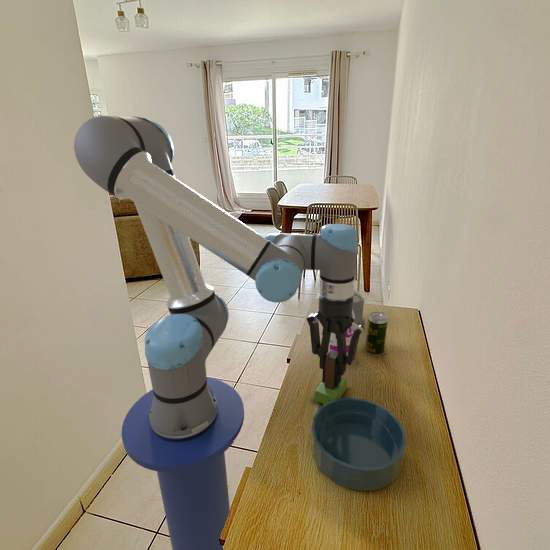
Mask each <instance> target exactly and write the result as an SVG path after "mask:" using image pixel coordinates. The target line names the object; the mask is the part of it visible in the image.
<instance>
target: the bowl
mask: <svg viewBox="0 0 550 550" xmlns="http://www.w3.org/2000/svg"><path fill="white" fill-rule="evenodd" d="M406 449H407V436H406V431H405V429H404V427H403V426H402V424H401V422H400V420H399V419H398V418H397V417H396V416H395V415H394V414H393V413H392V412H391V411H390V410H389V409H387V408H385V407H384V406H382V405H381V404H379V403H376V402H374V401H371V400H368V399H366V398H359V397H341V398H339V399H336V400H333V401H330V402H327V403H326V404H323V405H322V406H320V407H319V408H318V409H317V411H316V412H315V413H314V415H313V417H312V422H311V428H310V450H311V454H312V457H313V460H314V462H315V464H316V465H317V467H318V468H319V470H320V471H321V473H323V474H324V475H325V476H326V477H327V478H329V479H330V480H331V481H333V482H335V483H337V485H338V484H339V485H340V486H343V487H344V488H347V489H352V490H356V491H357V490H358V491H362V492H365V491H367V492H368V491H377V490H380V489H383V488H385V487H386V486H389V485H391V484H392V483H394V481H395V480H396V479H397V478H398V477H399V476H400V475H401V472H402V468H403V466H404V465H403V464H404V460H405V454H406Z"/></svg>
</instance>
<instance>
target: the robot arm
mask: <svg viewBox="0 0 550 550" xmlns="http://www.w3.org/2000/svg"><path fill="white" fill-rule="evenodd" d="M73 149H74V156H75V158H76V161H77V163H78V165H79V167H80V168H81V170H82V171H83V172H84V173H85V175H86V176H87V177H88V178H89V179H90V180H91V181H93V183H95V184H96V185H97V186H99V187H100V188H101V189H102V190H104V191H105V192H106V193H108V194H110V195H112V196H113V197H115V198H116V199H118V200H121V201H123V200H130V201H132V203H134V206H135V209H136V212H137V214H138V216H139V220H140V221H141V224H142V227H143V229H144V232H145V235H146V237H147V239H148V240H147V241H148V242H149V245H150V247H151V250H152V252H153V255H154V257H155V260H156V263H157V265H158V267H159V271H160V274H161V276H162V278H163V280H164V283H165V286H166V288H167V291H168V293H169V298H168V299H167V302H166V307H167V309H168V312H169V315H167V316H165V318H159V319H158V320H156V321H155V322H154V323H152V325H151V326H150V327H149V328H148V329H147V331H146V333H145V335H144V355H145V358H146V362H147V366H148V371H149V372H148V373H149V376H150V377H149V378H150V383H151V388H152V389H153V394H154V395H153V400H152V406H151V409H150V413H149V421H150V426H151V429H152V431H153V433H154V434H155V435H156V436H158V437H159V438H161V439H163V440H167V441H174V442H178V441H186V440H190V439H193V438H195V437H197V436H199V435H201V434H203V433H204V432H206V431H207V430H208V429H209V428H210V427H211V426H212V425H213V424H214V422H215V421H216V418H217V416H218V403H217V400H216V397H215V395H214V394H213V392H212V390H211V388H210V386H209V384H208V383H207V377H208V376H207V367H206V362H207V359H208V357H209V355H210V353H211V352H212V351H213V349H214V347H215V346H216V343H217V342H218V341H219V339H220V338H221V336H222V335H223V334H224V332H225V330H226V328H227V325H228V322H229V319H230V318H229V316H230V315H229V314H230V312H229V307H228V305H227V302H226V301H225V300H224V298H223V297H222V296H219V294H217V293H216V292H215V289H214V287H213V286H212V285H209V284H207V283H206V282H205V280H204V277H203V274H202V271H201V267H200V265H199V262H198V259H197V256H196V253H195V250H194V248H193V245H192V242H191V240H192V241H193V242H195V243H197V244H198V245H200V246H201V247H202V248H204V249H206V250H208V251H209V252H211V253H212V254H214V255H215V256H217V257H218V258H220V259H221V260H223V261H224V262H225V263H227V264H229V265H231V266H232V267H234V268H235V269H237V270H238V271H240V272H242V273H243V274H244V275H246V276H247V277H249V278H250V279H251V280H253V281H254V282H255V283H254V284H255V288H256V290H257V292H258V293H259V295H260V296H261V297H262V298H263V299H265V300H266V301H268V302H271V303H278V304H279V303H284V302H287V301H289V300H290V299H292V298H293V297H295V295H296V293H297V291H298V289H299V288H300V286H301V283H302V281H303V274H304V271H319V283H318V285H319V286H318V293H319V295H318V311H317V313H314V312H312V313H311V314H309V315H308V316H307V317H306V321H307V324H308V326H309V335H310V345H311V353H312V354H313V355H317V357H318V358H319V369H321V370H322V375H321V376H322V377H321V383H322V382H323V383H325V362H326V355H327V353H328V352H329V351H328V347H329V342H330V337H331V333H334V334H335V335H336V339H337V350H338V361H337V362H336V364H335V380H334V387H338V385H339V384H340V382H341V377H342V376H343V375H344V374H345V373H346V370H347V366H351V365H352V363H353V362H354V360H355V358H356V354H357V350H358V345H359V341H360V336H361V334H362V333H363V331H364V330H365V326H364V325H363V324H362V325H360V326H358V325H357V324H356V323H354V319H353V317H352V310H353V295H354V290H355V282H356V281H355V280H356V279H355V278H356V267H357V254H358V230H357V229H356V228H355V227H354V226H352V225H349V224H346V223H328V224H325V225H323V226H322V227H321V229H320V232H319V233H318V234H303V233H285V232H279V233H267V235H266V236H263V235H262V234H260V233H259V232H257V231H255V230H254V229H252V228H251V227H250V226H248V225H246V224H245V223H243V222H242V221H241V220H239V219H237V218H236V217H234V216H233V215H231V214H230V213H229V212H227V211H225V210H224V209H222V208H221V207H220V206H218V205H216V204H215V203H213V202H212V201H210V200H209V199H207V198H206V197H204V196H203V195H201V194H200V193H198V192H197V191H195V190H194V189H192V188H191V187H189V186H187V185H186V184H185V183H184V182H182V181H180V180H178V179H177V178H176V175H175V172H174V170H173V166H172V163H173V160H174V157H175V147H174V143H173V140H172V137H171V136H170V134H169V132H168V131H167V130H166V129H165V128H164V126H162V125H161V124H159V123H158V122H157V121H154V120H153V119H149V118H146V117H142V116H135V115H133V116H115V115H99V116H93V117H92V118H89V119H87V120H86V121H84V122H83V123H82V124H81V126H80V127H79V128H78V130H77V131H76V134H75V137H74V141H73ZM320 325H321V326H322V331H321V333H320ZM350 327H351V329H352V330H351V332H352V334H353V335H352V337H351V341H350V346H349V350H348V355H347V350H346V330H347V329H349V328H350ZM321 335H322V336H321Z"/></svg>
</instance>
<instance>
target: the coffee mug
mask: <svg viewBox="0 0 550 550" xmlns="http://www.w3.org/2000/svg"><path fill="white" fill-rule="evenodd" d="M364 305H365V295H364V294H363V293H362V292H361V291H359V290H355V289H354V295H353V312H354V314H355V320H354V323H356V324H357V325H358V326H360V325H362V326H363V316H364Z"/></svg>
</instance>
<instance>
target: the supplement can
mask: <svg viewBox="0 0 550 550" xmlns="http://www.w3.org/2000/svg"><path fill="white" fill-rule="evenodd" d="M352 317H353V319H354V320H355V314H354V312H353V310H352ZM351 330H352V329H351V327H350V328H349V329H347V330H346V350H347V355H348V350H349V346H350V341H351V337H352V335H353V334H352V332H351ZM330 350H335V351H338V350H337V339H336V335H335V334H334V333H331V337H330V342H329V347H328V351H330ZM328 353H329V352H328ZM328 353H327V354H328Z"/></svg>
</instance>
